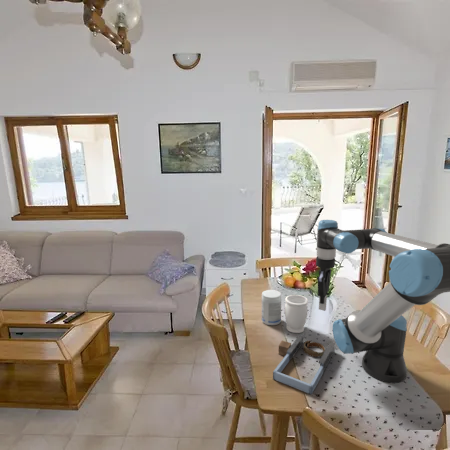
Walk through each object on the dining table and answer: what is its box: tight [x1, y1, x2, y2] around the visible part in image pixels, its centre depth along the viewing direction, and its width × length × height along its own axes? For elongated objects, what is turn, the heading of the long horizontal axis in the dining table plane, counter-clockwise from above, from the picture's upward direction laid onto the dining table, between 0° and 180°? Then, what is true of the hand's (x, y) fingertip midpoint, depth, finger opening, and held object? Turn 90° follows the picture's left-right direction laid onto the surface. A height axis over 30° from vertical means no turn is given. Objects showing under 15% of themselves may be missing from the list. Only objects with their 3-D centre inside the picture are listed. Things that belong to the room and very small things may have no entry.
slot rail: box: [287, 332, 336, 373], centre depth 129 cm, size 16×14×4 cm
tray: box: [272, 354, 324, 395], centre depth 117 cm, size 13×14×3 cm
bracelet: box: [303, 340, 326, 358], centre depth 132 cm, size 9×9×3 cm
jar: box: [284, 294, 309, 334], centre depth 148 cm, size 11×10×15 cm
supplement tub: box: [261, 289, 282, 326], centre depth 155 cm, size 10×10×15 cm
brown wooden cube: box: [277, 340, 292, 357], centre depth 131 cm, size 4×4×4 cm
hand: (322, 309), depth 137 cm, fingers closed
